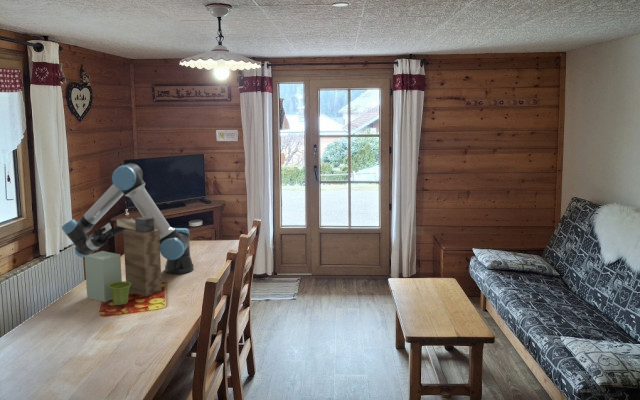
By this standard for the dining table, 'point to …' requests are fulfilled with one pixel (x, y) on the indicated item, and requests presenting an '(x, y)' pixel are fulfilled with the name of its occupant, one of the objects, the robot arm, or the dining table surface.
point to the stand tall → (142, 261)
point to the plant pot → (120, 292)
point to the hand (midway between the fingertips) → (121, 223)
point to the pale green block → (102, 274)
